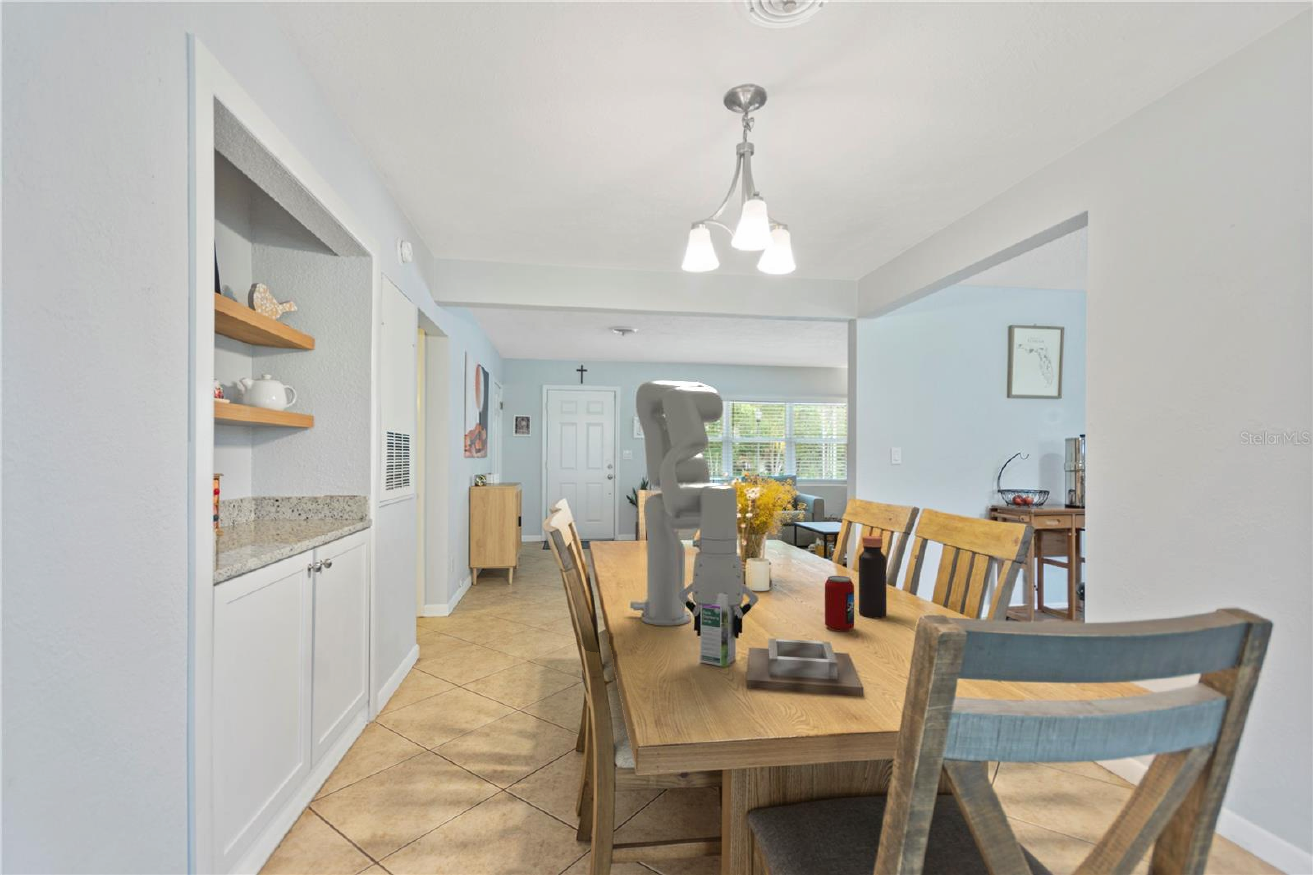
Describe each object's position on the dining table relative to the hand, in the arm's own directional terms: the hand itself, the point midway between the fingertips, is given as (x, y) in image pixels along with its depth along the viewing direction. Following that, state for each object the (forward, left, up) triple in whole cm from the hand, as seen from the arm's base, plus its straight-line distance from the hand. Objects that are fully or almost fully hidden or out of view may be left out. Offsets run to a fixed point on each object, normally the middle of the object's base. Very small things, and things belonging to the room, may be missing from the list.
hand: (718, 634), depth 123 cm
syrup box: (0, 0, -6) cm, 6 cm away
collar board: (+16, -4, -5) cm, 17 cm away
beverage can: (+27, +28, -6) cm, 39 cm away
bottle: (+37, +42, -6) cm, 56 cm away
